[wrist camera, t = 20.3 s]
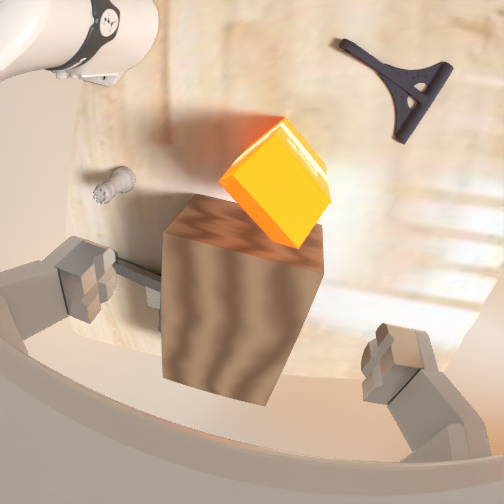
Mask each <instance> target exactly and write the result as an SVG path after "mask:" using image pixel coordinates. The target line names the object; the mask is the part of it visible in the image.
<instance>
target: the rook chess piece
mask: <svg viewBox="0 0 504 504" xmlns="http://www.w3.org/2000/svg"><path fill="white" fill-rule="evenodd" d="M134 185H135V176H134V174H133V172H132V171H131V170H130V169H128V168H126V167H119V168H118V169H116V170H115V171H114V172H113V173H112V175H111V178H110V180H109V181H108V182H104V183H103V184H98V185H97V186H96V188H95V190H94V192H93V193H94V194H95V195H94V196H93V197H94V199H95V198H96V199H97V200H96V202H97V203H99V202H100V203H101V204H103V203H104V204H106V203H108V202H110V200H111V198H113V197H114V196H115V194H117V193H127V192H128V191H130V190H132V189H133V187H134Z"/></svg>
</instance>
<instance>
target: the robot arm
mask: <svg viewBox="0 0 504 504" xmlns="http://www.w3.org/2000/svg"><path fill="white" fill-rule="evenodd" d="M158 24H159V19H158V12H157V9H156V6H155V4H154V3H153V1H152V0H0V82H2V81H4V80H5V79H8V78H10V77H12V76H16V75H19V74H23V73H26V72H30V71H36V70H41V69H45V70H49V71H51V72H53V73H56V78H60V79H65V78H69V77H71V78H73V79H82V80H86V81H90V82H93V83H97V84H101V85H104V86H114V85H115V84H116V83H117V82H118V81H119V79H120V78H121V76H122V75H123V73H124V72H125V71H127V70H128V69H130V68H131V67H133V66H134V65H136V64H137V63H138V62H139V61H140V60H142V59H143V57H144V56H145V55H146V54H147V53H148V51H149V50H150V48H151V46H152V45H153V43H154V40H155V38H156V35H157V31H158ZM104 76H105V80H104ZM115 261H116V260H115V251H114V250H113V249H112V248H109V247H106V246H103V245H100V244H97V243H94V242H91V241H89V240H85V239H82V238H79V237H77V236H71V237H69V238H68V239H67V240H66V241H65V242H64V243H62V244H61V245H60V246H59V247H58V248H57V249H56V250H54V251H53V252H52V253H51V254H50V255H49V256H47V257H46V258H45V259H44V260H43V261H42V262H41V261H34V262H31V263H28V264H25V265H22V266H19V267H15V268H13V269H10V270H6V271H3V272H0V504H504V454H502V455H496V456H492V455H491V450H490V445H489V440H488V436H487V431H486V427H485V423H484V422H483V420H482V419H481V418H480V416H479V415H478V414H477V413H476V411H475V410H474V409H473V408H472V407H471V405H470V404H469V403H468V402H467V401H466V399H465V398H464V397H463V396H462V395H461V393H460V392H459V391H458V390H457V389H456V387H454V385H453V384H452V383H451V382H450V381H449V379H448V378H447V377H446V376H445V375H444V373H443V372H439V371H438V367H437V363H436V360H435V356H434V353H433V349H432V346H431V343H430V339H429V336H428V334H427V333H426V332H425V331H421V330H416V329H408V328H404V327H399V326H395V325H390V324H386V323H382V324H381V325H380V326H379V327H378V329H377V331H376V339H374V340H372V341H370V342H369V343H368V345H367V346H366V348H365V350H364V353H363V356H362V361H361V371H362V373H363V374H364V375H365V377H366V379H365V380H364V381H363V383H362V387H363V401H367V402H372V403H378V404H385V405H388V406H387V407H388V408H389V410H390V412H391V414H392V415H393V417H394V419H395V421H396V422H397V425H398V426H399V428H400V430H401V432H402V433H403V435H404V437H405V439H406V441H407V442H408V444H409V446H410V448H411V450H412V453H411V454H409V455H408V456H406V457H405V458H403V459H402V460H401V461H400V462H374V461H358V460H346V459H335V458H326V457H319V456H311V455H304V454H298V453H291V452H286V451H280V450H275V449H270V448H265V447H260V446H255V445H251V444H247V443H242V442H238V441H234V440H230V439H226V438H222V437H219V436H215V435H212V434H208V433H205V432H201V431H198V430H195V429H191V428H188V427H185V426H182V425H179V424H176V423H173V422H170V421H167V420H164V419H161V418H158V417H156V416H153V415H150V414H148V413H145V412H143V411H140V410H137V409H135V408H132V407H130V406H128V405H125V404H123V403H120V402H118V401H116V400H113V399H111V398H109V397H107V396H104V395H102V394H100V393H98V392H96V391H94V390H92V389H89V388H87V387H85V386H83V385H81V384H79V383H77V382H75V381H73V380H71V379H69V378H68V377H66V376H64V375H62V374H60V373H58V372H56V371H54V370H53V369H51V368H49V367H47V366H46V365H44V364H42V363H40V362H39V361H37V360H35V359H34V358H32V357H30V356H28V351H27V349H26V347H25V345H24V343H23V340H25V339H27V338H29V337H31V336H33V335H34V334H36V333H38V332H40V331H42V330H44V329H45V328H47V327H49V326H51V325H53V324H55V323H57V322H59V321H61V320H62V319H64V318H66V317H68V315H70V316H72V317H74V318H77V319H79V320H82V321H84V322H87V323H89V324H91V322H92V321H93V320H94V318H95V317H96V316H97V314H98V313H99V312H100V310H101V306H100V304H101V303H103V302H106V301H108V300H109V299H110V297H111V296H112V295H113V292H114V290H115V287H116V281H117V274H116V271H115V269H114V268H113V266H112V264H113V263H114V262H115Z"/></svg>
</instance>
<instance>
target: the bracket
mask: <svg viewBox="0 0 504 504" xmlns="http://www.w3.org/2000/svg"><path fill="white" fill-rule="evenodd" d="M339 47H340V48H342V49H344V50H345V51H347V52H349V53H350V54H352V55H354V56H355V57H357V58H358V59H360V60H361V61H363V62H364V63H366V64H368V65H369V66H371V67H372V68H374V69H375V70H376V71H378V72H379V73H378V74H379V75H380V77H381V78H382V79H383V80H384V81H385V83H386V84H387V86H388V87H389V89H390V91H391V93H392V95H393V98H394V102H395V106H396V128H395V134H396V137H395V138H396V139H398V140H399V141H400V142H402V143H403V144H405V143H406V141H407V140H408V138H409V137H410V135H411V134H412V133H413V131H414V130H415V128H416V127H417V125H418V124H419V122H420V121H421V119H422V118H423V116H424V115H425V113H426V111H427V110H428V108H429V107H430V105H431V104H432V102H433V101H434V99H435V98H436V96H437V94H438V93H439V91H440V90H441V88H442V87H443V85H444V83H445V82H446V80H447V79H448V77H449V75H450V74H451V72H452V70H453V67H452V66H451V65H450V64H449V63H447V62H444V63H443V64H442V63H439V64H437V65H435V66H433V67H430V68H427V69H423V70H412V71H410V70H404V69H399V68H396V67H393V66H390V65H388V64H383V63H381V62H380V61H378V60H377V59H376V58H374V57H373V56H372V55H370V54H369V53H367V52H366V51H365V50H363V49H362V48H360V47H359V46H358V45H356V44H355V43H353V42H351V41H349V40H347V39H343V40H342V42H341V43H340V45H339ZM417 83H425V84H427V85H429V87H428V88H427V90H426V91H425V93H424V94H423V93H421V92H420V91H419V90H418V89H416V88H415V87H414V85H416V84H417ZM408 95H411V96H412V97H413V98H414V99H415V100H416V101H417V102H418V103H417V105H416V107H415V108H414V110H413V111H411V109H410V108H409V106H408V103H407V97H408Z"/></svg>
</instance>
